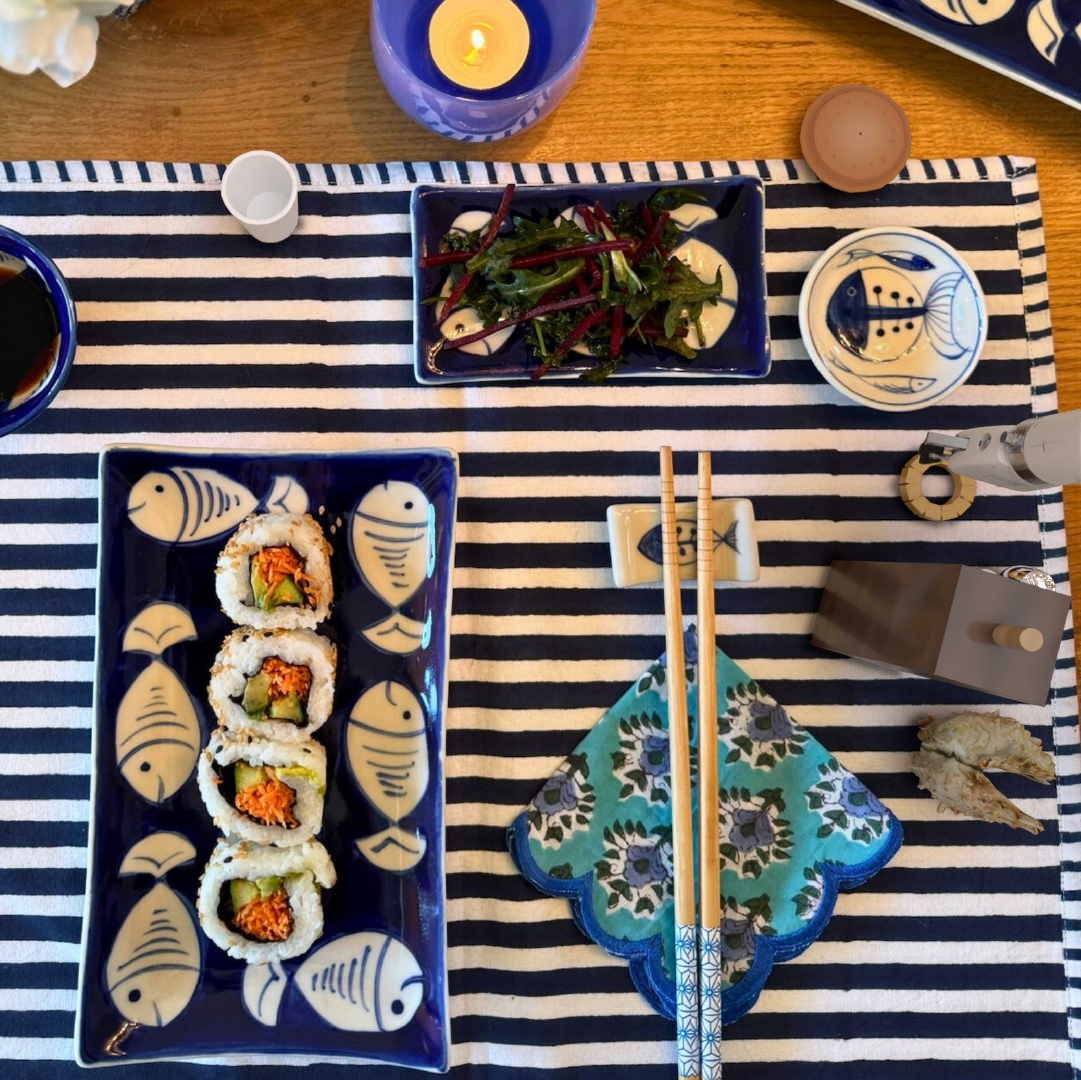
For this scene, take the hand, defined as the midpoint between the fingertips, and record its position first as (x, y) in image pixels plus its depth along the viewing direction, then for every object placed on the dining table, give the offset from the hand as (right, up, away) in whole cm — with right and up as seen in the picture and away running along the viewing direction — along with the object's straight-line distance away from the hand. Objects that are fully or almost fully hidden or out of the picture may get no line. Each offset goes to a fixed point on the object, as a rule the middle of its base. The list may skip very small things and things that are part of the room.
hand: (961, 463), depth 129 cm
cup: (-87, +35, +19) cm, 96 cm away
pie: (-6, +45, +20) cm, 49 cm away
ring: (+5, -3, +16) cm, 17 cm away
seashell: (+5, -40, +14) cm, 42 cm away
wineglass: (+11, -17, +16) cm, 25 cm away
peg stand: (-6, -21, +15) cm, 26 cm away
